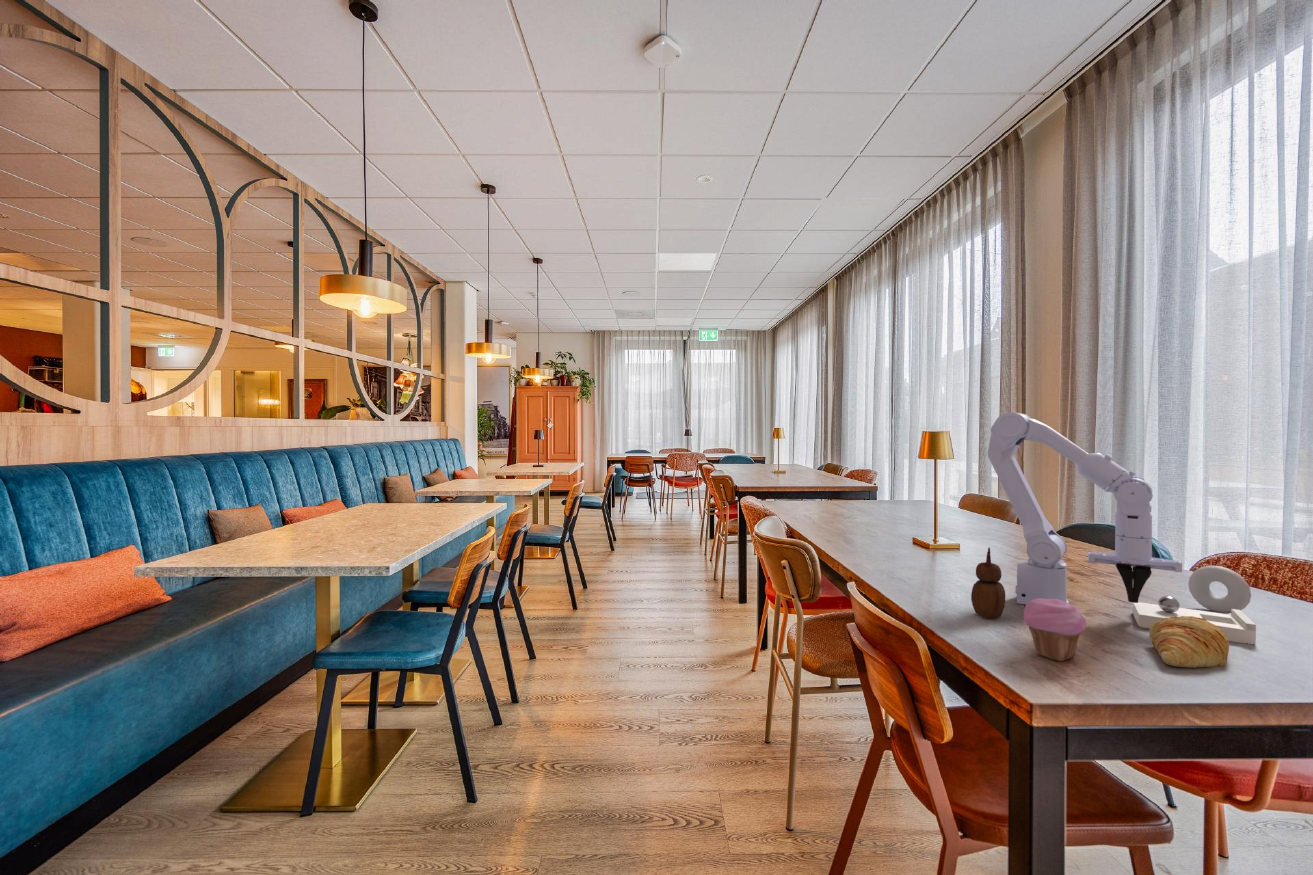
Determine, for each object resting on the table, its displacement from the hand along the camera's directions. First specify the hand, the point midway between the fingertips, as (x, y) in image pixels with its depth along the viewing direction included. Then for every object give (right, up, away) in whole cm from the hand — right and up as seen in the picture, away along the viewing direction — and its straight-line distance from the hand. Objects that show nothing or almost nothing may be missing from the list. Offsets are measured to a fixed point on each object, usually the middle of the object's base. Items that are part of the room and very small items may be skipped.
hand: (1132, 601), depth 113 cm
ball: (+4, 0, -3) cm, 6 cm away
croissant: (-6, -4, -18) cm, 19 cm away
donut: (+22, -4, +4) cm, 23 cm away
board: (+7, -4, -5) cm, 9 cm away
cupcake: (-30, -4, -18) cm, 35 cm away
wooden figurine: (-29, -4, +2) cm, 29 cm away
